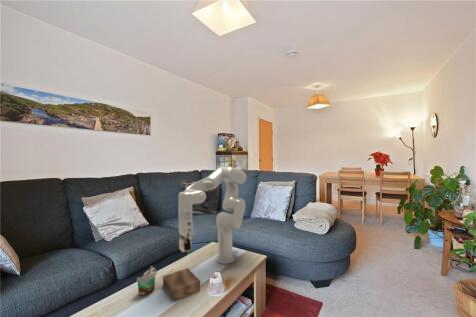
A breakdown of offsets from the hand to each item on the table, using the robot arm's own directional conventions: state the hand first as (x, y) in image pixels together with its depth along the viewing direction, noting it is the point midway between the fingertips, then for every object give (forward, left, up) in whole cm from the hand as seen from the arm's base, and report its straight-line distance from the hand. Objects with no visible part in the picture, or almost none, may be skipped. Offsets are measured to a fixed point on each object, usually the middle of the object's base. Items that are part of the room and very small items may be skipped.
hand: (185, 247), depth 123 cm
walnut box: (+3, +1, -20) cm, 21 cm away
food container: (+17, -7, -21) cm, 28 cm away
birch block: (0, 0, -1) cm, 1 cm away
